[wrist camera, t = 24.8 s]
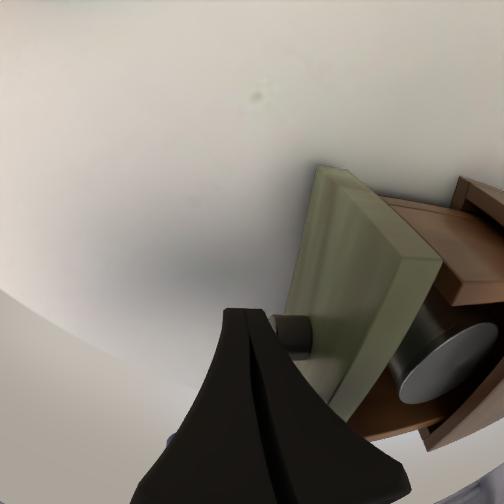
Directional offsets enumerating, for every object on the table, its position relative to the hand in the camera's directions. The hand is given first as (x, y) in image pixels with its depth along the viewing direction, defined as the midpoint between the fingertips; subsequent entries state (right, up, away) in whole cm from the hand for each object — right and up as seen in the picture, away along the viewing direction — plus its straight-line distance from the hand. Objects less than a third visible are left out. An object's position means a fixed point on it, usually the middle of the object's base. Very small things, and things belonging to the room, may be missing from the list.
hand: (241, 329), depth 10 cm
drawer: (+8, +1, +3) cm, 9 cm away
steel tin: (+8, 0, +2) cm, 8 cm away
